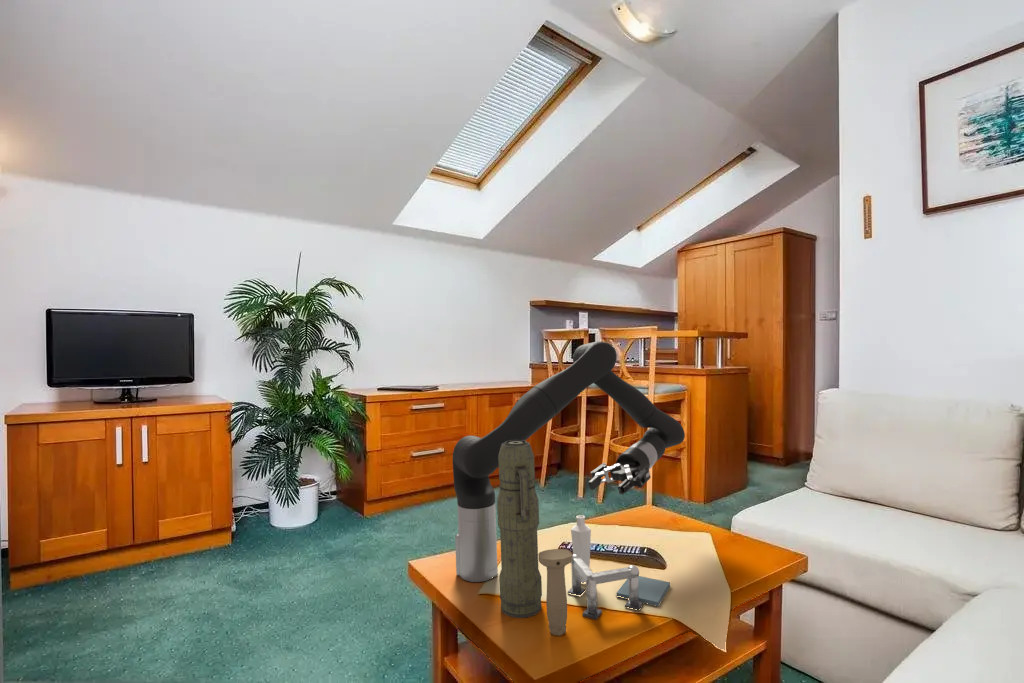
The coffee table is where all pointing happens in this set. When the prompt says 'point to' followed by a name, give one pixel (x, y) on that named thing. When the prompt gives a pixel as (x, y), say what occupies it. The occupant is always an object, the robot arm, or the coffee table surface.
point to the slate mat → (647, 590)
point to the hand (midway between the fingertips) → (604, 488)
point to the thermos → (518, 531)
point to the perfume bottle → (581, 540)
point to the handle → (556, 588)
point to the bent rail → (602, 577)
